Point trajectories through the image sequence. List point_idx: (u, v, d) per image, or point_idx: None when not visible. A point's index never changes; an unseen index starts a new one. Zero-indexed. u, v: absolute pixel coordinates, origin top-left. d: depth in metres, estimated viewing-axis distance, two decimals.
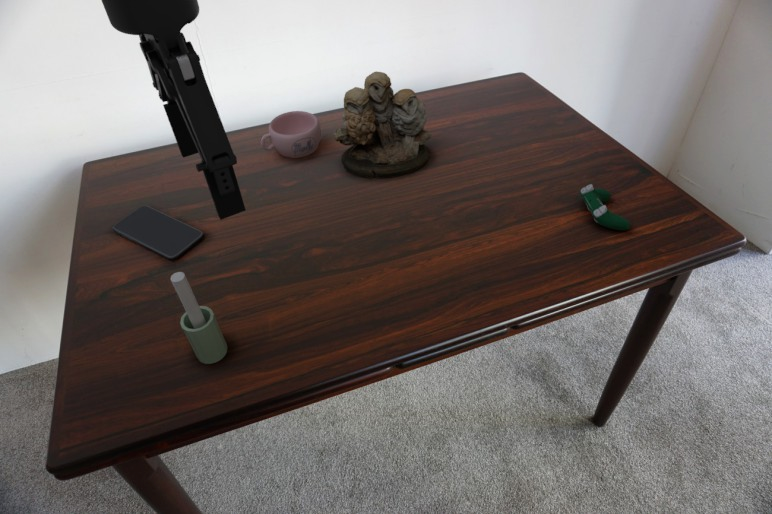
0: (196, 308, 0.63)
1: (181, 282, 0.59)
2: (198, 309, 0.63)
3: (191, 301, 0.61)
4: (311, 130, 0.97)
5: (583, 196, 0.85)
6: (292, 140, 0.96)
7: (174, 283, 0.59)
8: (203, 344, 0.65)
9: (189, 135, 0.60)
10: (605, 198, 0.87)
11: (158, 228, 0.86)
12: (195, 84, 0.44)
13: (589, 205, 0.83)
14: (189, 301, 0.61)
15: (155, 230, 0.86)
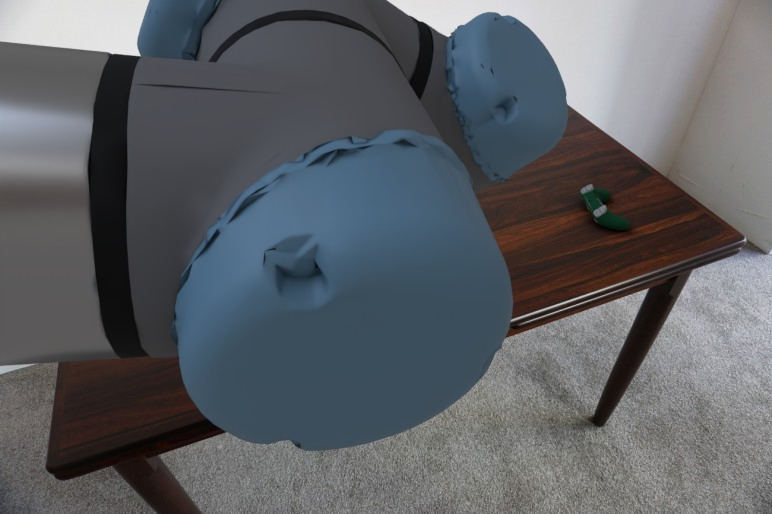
0: None
1: None
2: None
3: None
4: None
5: (583, 196, 0.85)
6: None
7: None
8: None
9: None
10: (605, 198, 0.87)
11: None
12: None
13: (589, 205, 0.83)
14: None
15: None
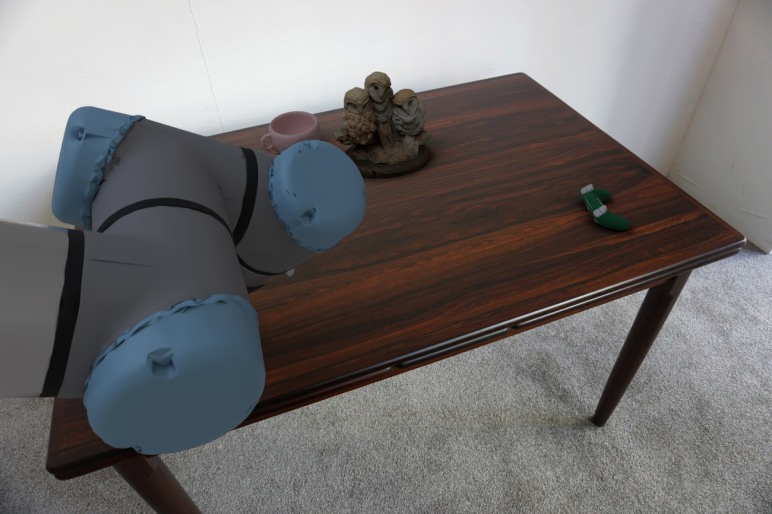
0: None
1: None
2: None
3: None
4: (311, 130, 0.97)
5: (583, 196, 0.85)
6: (292, 140, 0.96)
7: None
8: None
9: None
10: (605, 198, 0.87)
11: None
12: None
13: (589, 205, 0.83)
14: None
15: None
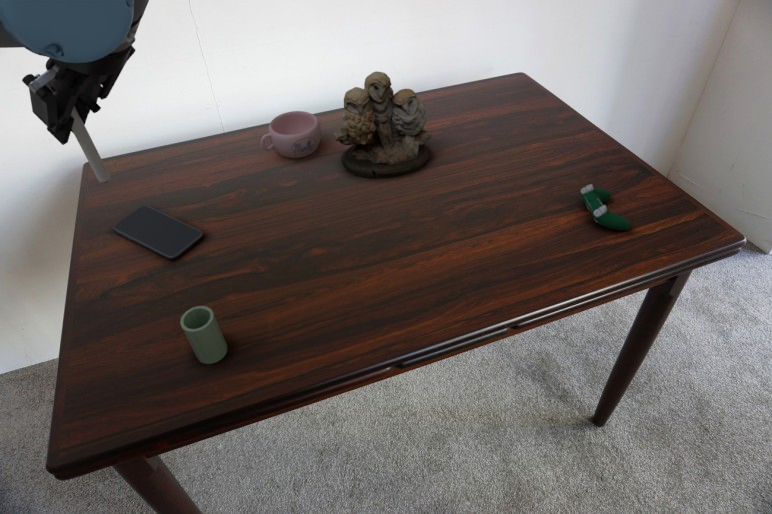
0: (82, 128, 0.68)
1: None
2: (84, 130, 0.68)
3: (75, 118, 0.66)
4: (311, 130, 0.97)
5: (583, 196, 0.85)
6: (292, 140, 0.96)
7: None
8: (203, 344, 0.65)
9: None
10: (605, 198, 0.87)
11: (158, 228, 0.86)
12: (39, 97, 0.56)
13: (589, 205, 0.83)
14: (73, 117, 0.66)
15: (155, 230, 0.86)
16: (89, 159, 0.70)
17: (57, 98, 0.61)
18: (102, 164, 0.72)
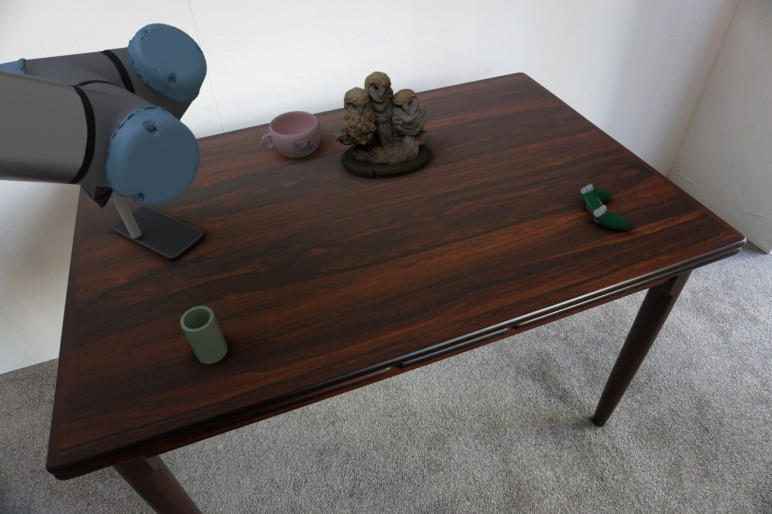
0: (119, 195, 0.79)
1: None
2: (121, 196, 0.79)
3: None
4: (311, 130, 0.97)
5: (583, 196, 0.85)
6: (292, 140, 0.96)
7: None
8: (203, 344, 0.65)
9: None
10: (605, 198, 0.87)
11: (158, 228, 0.86)
12: None
13: (589, 205, 0.83)
14: None
15: (155, 230, 0.86)
16: (124, 220, 0.81)
17: None
18: (135, 223, 0.83)
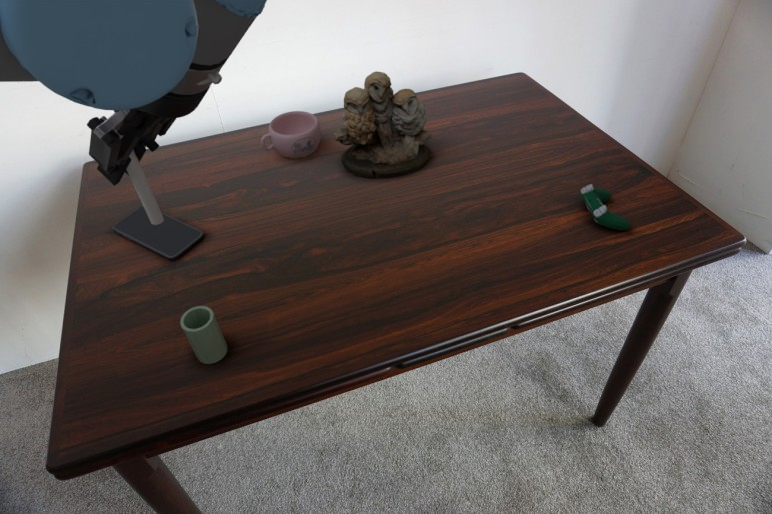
0: (138, 168, 0.61)
1: None
2: (140, 170, 0.61)
3: (131, 158, 0.59)
4: (311, 130, 0.97)
5: (583, 196, 0.85)
6: (292, 140, 0.96)
7: None
8: (203, 344, 0.65)
9: None
10: (605, 198, 0.87)
11: (158, 228, 0.86)
12: (103, 141, 0.49)
13: (589, 205, 0.83)
14: None
15: (155, 230, 0.86)
16: (143, 201, 0.63)
17: None
18: (156, 205, 0.65)
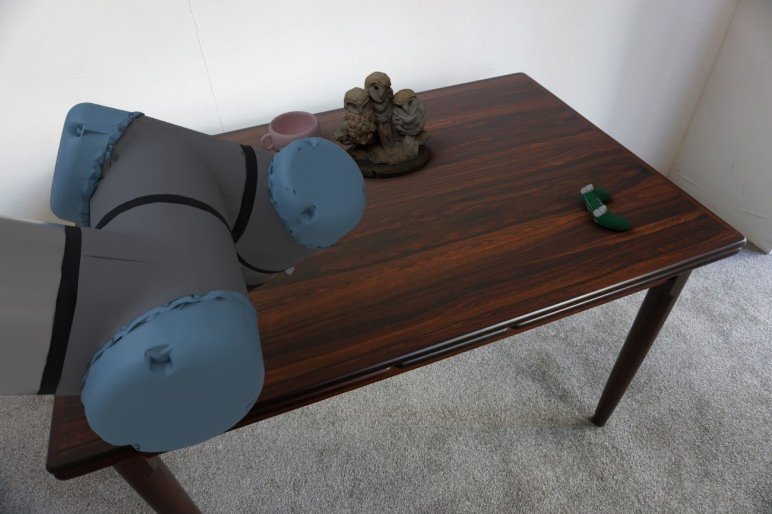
0: None
1: None
2: None
3: None
4: (311, 130, 0.97)
5: (583, 196, 0.85)
6: (292, 140, 0.96)
7: None
8: None
9: None
10: (605, 198, 0.87)
11: None
12: None
13: (589, 205, 0.83)
14: None
15: None
16: None
17: None
18: None
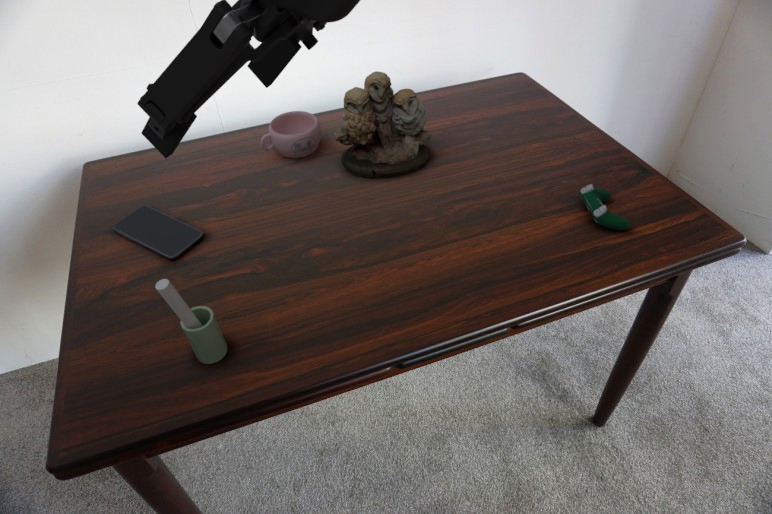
0: (187, 312, 0.62)
1: (166, 289, 0.58)
2: (190, 313, 0.63)
3: (180, 306, 0.61)
4: (311, 130, 0.97)
5: (583, 196, 0.85)
6: (292, 140, 0.96)
7: (159, 291, 0.58)
8: (203, 344, 0.65)
9: (268, 64, 0.50)
10: (605, 198, 0.87)
11: (158, 228, 0.86)
12: (216, 49, 0.33)
13: (589, 205, 0.83)
14: (178, 306, 0.61)
15: (155, 230, 0.86)
16: None
17: None
18: None
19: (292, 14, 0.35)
